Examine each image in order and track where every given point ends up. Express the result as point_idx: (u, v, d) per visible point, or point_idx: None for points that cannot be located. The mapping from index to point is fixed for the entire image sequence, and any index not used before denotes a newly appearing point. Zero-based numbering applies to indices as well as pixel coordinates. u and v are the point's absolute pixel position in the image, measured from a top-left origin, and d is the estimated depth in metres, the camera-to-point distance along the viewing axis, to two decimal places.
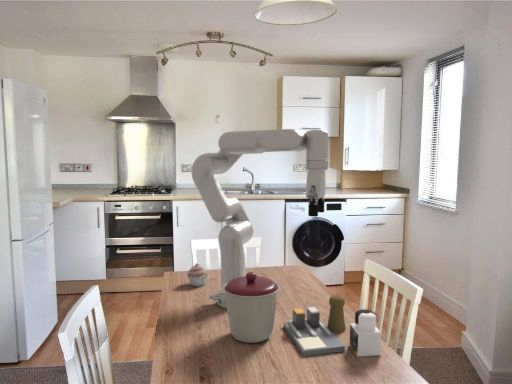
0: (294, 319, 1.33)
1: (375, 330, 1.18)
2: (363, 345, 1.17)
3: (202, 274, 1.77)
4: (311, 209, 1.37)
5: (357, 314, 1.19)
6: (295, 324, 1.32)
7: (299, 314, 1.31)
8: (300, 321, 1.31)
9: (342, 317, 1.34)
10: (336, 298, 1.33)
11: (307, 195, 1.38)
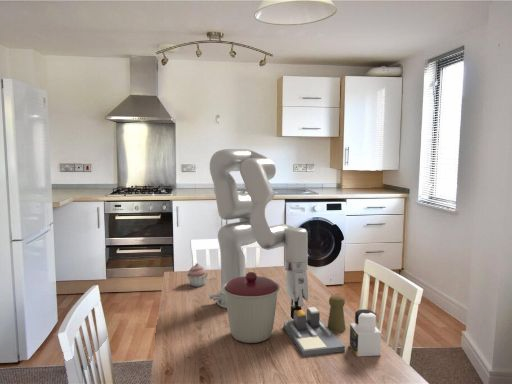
0: (295, 321, 1.32)
1: (375, 330, 1.18)
2: (363, 345, 1.17)
3: (202, 274, 1.77)
4: None
5: (357, 314, 1.19)
6: (296, 325, 1.31)
7: (300, 315, 1.30)
8: (301, 322, 1.30)
9: (342, 317, 1.34)
10: (336, 298, 1.33)
11: None
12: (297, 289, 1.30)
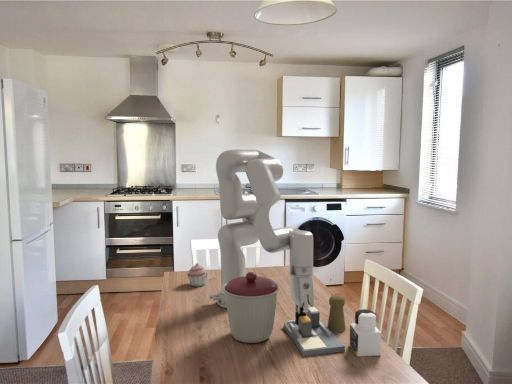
0: (300, 327, 1.27)
1: (375, 330, 1.18)
2: (363, 345, 1.17)
3: (202, 274, 1.77)
4: None
5: (357, 314, 1.19)
6: (301, 332, 1.26)
7: (305, 322, 1.25)
8: (306, 329, 1.26)
9: (342, 317, 1.34)
10: (336, 298, 1.33)
11: None
12: (302, 294, 1.26)
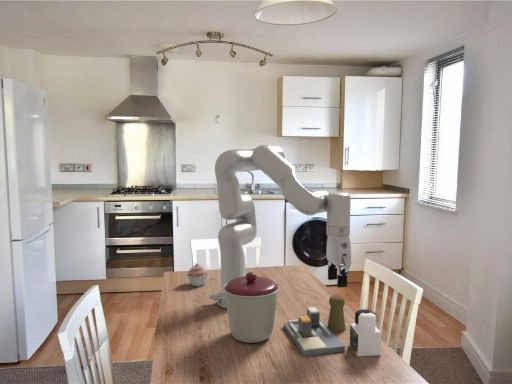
0: (300, 327, 1.27)
1: (375, 330, 1.18)
2: (363, 345, 1.17)
3: (202, 274, 1.77)
4: None
5: (357, 314, 1.19)
6: (301, 332, 1.26)
7: (305, 322, 1.25)
8: (306, 329, 1.26)
9: (342, 317, 1.34)
10: (336, 298, 1.33)
11: None
12: (340, 254, 1.28)
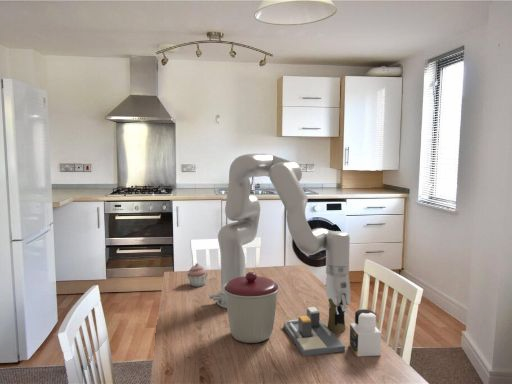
0: (300, 327, 1.27)
1: (375, 330, 1.18)
2: (363, 345, 1.17)
3: (202, 274, 1.77)
4: None
5: (357, 314, 1.19)
6: (301, 332, 1.26)
7: (305, 322, 1.25)
8: (306, 329, 1.26)
9: None
10: None
11: None
12: (339, 293, 1.29)
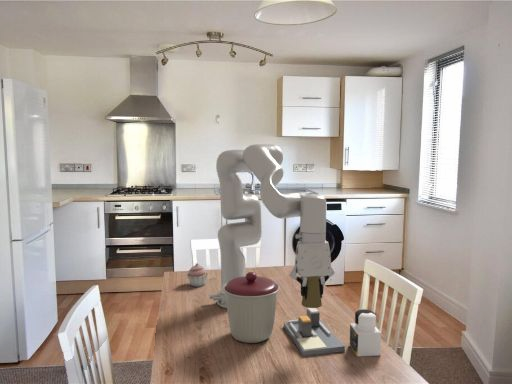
0: (300, 327, 1.27)
1: (375, 330, 1.18)
2: (363, 345, 1.17)
3: (202, 274, 1.77)
4: None
5: (357, 314, 1.19)
6: (301, 332, 1.26)
7: (305, 322, 1.25)
8: (306, 329, 1.26)
9: None
10: None
11: None
12: (295, 259, 1.20)
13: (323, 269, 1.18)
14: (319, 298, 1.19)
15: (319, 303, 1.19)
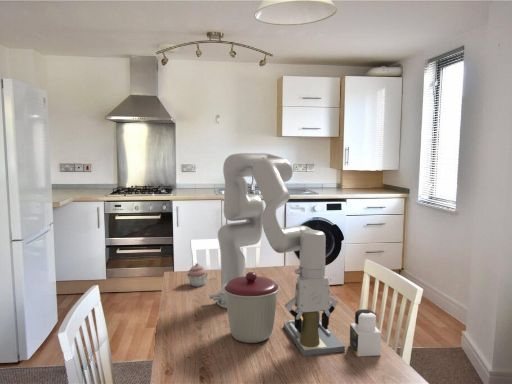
0: None
1: (375, 330, 1.18)
2: (363, 345, 1.17)
3: (202, 274, 1.77)
4: None
5: (357, 314, 1.19)
6: None
7: None
8: None
9: (304, 330, 1.20)
10: None
11: None
12: (295, 293, 1.21)
13: (323, 304, 1.19)
14: (317, 337, 1.20)
15: (317, 342, 1.20)
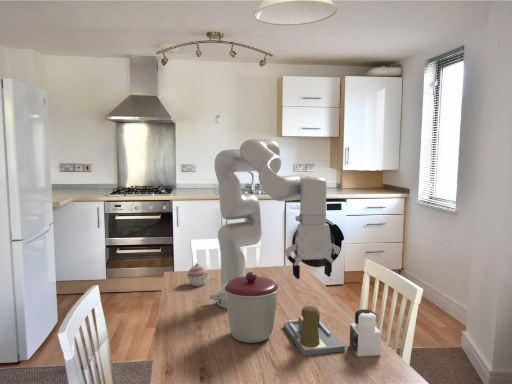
0: (300, 327, 1.27)
1: (375, 330, 1.18)
2: (363, 345, 1.17)
3: (202, 274, 1.77)
4: None
5: (357, 314, 1.19)
6: None
7: None
8: None
9: (304, 330, 1.20)
10: (305, 307, 1.22)
11: None
12: (295, 241, 1.19)
13: (323, 251, 1.17)
14: (317, 337, 1.20)
15: (317, 342, 1.20)
